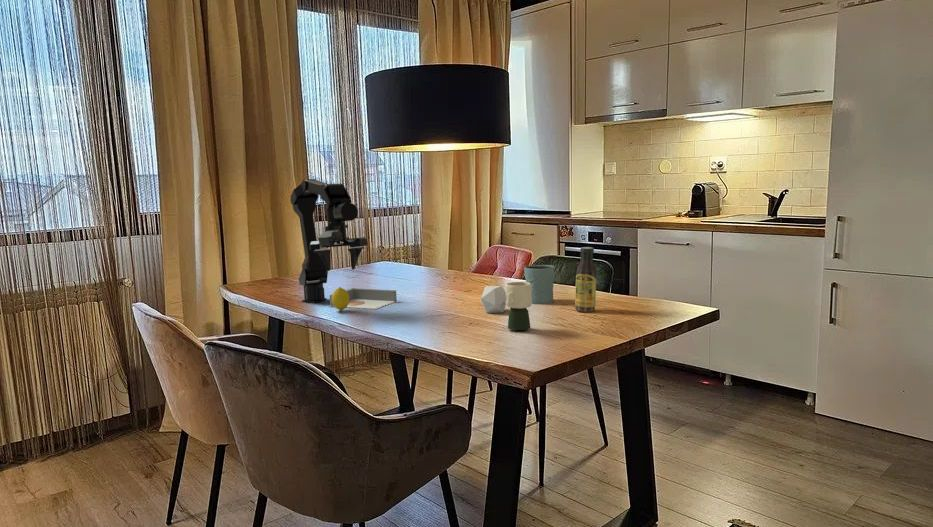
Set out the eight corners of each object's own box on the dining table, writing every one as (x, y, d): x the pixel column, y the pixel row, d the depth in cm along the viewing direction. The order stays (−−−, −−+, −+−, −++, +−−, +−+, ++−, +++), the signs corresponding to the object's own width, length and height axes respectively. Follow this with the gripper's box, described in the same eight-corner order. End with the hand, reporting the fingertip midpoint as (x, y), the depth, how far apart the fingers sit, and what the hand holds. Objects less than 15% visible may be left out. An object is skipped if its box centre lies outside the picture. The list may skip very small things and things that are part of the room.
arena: (330, 306, 212) (329, 295, 211) (353, 298, 224) (352, 288, 224) (375, 309, 204) (374, 297, 204) (396, 301, 217) (396, 290, 216)
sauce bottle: (572, 312, 192) (572, 248, 189) (578, 308, 198) (578, 246, 195) (593, 313, 189) (592, 248, 186) (598, 309, 194) (598, 246, 192)
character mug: (517, 324, 178) (516, 279, 176) (539, 327, 174) (538, 281, 173) (498, 332, 169) (496, 285, 167) (521, 335, 165) (520, 287, 164)
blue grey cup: (547, 305, 203) (546, 269, 201) (519, 303, 208) (518, 267, 206) (559, 300, 211) (559, 265, 210) (532, 297, 216) (532, 263, 215)
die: (499, 318, 190) (515, 290, 192) (474, 303, 191) (490, 276, 193) (498, 321, 198) (513, 295, 200) (473, 308, 199) (489, 281, 201)
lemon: (347, 312, 201) (346, 288, 200) (330, 313, 201) (329, 288, 200) (351, 309, 206) (350, 285, 205) (334, 309, 207) (333, 285, 206)
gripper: (297, 225, 197) (302, 274, 198) (348, 220, 190) (353, 271, 191) (317, 224, 207) (321, 270, 208) (366, 219, 201) (370, 267, 202)
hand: (340, 270), depth 202 cm, fingers open, 9 cm apart
